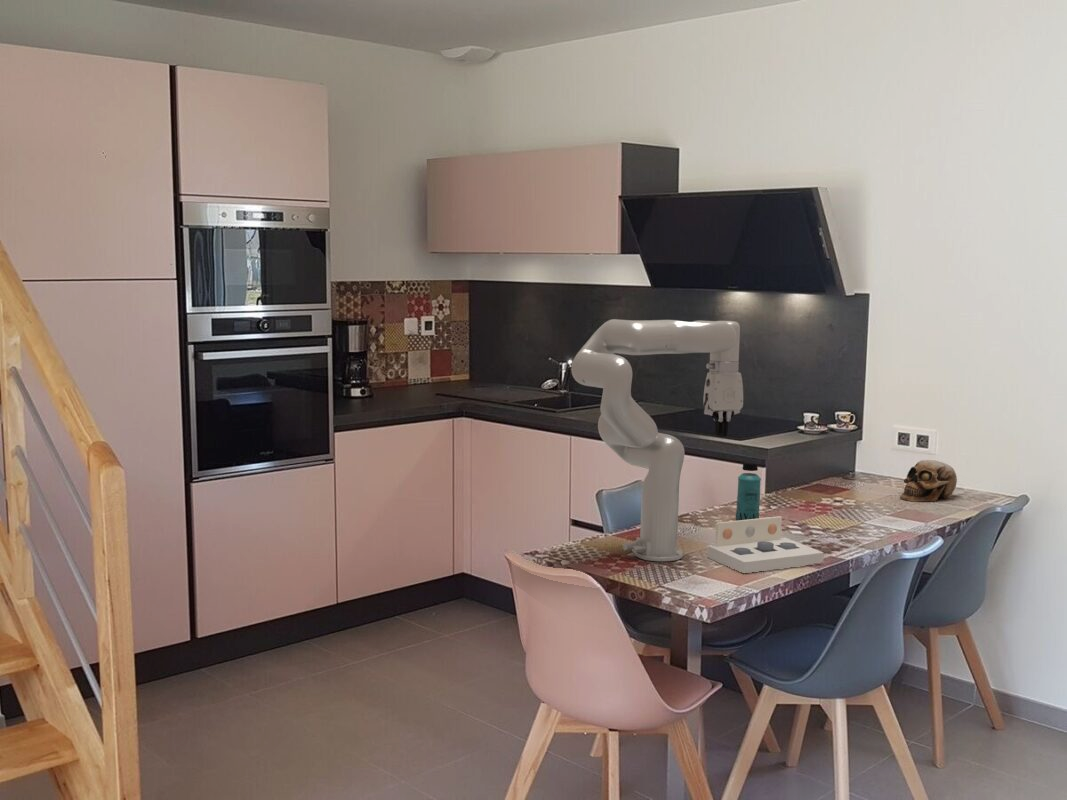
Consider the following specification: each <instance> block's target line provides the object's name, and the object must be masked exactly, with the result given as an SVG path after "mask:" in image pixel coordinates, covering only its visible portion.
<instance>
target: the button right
mask: <svg viewBox="0 0 1067 800" xmlns="http://www.w3.org/2000/svg"><path fill="white" fill-rule="evenodd" d="M780 548H783V549H785V550H788V549H796V544H793V543H787V542H784V543H780Z"/></svg>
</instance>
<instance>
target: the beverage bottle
mask: <svg viewBox="0 0 1067 800" xmlns="http://www.w3.org/2000/svg"><path fill="white" fill-rule="evenodd" d="M742 470H743V471H748V472H744V473H741V474H740V475H739V476H738V477H737V478H738V479H737V495H736V496H737V497H736V510H735V519H734V521H738V520H748V519H758V518H760V503H761V502H760V501H761V500H760V499H761V480H762V478H761V477H760V476H759V475H758V474H757V473H753V472H756V471H758V462H755V461H744V462H743V464H742Z"/></svg>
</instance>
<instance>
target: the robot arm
mask: <svg viewBox="0 0 1067 800" xmlns="http://www.w3.org/2000/svg"><path fill="white" fill-rule="evenodd" d="M740 332H741V326H740V323H739V322H737V321H735V320H734V321H733V320H716V321H715V320H693V321H684V320H678V319H652V320H651V319H650V320H645V319H644V320H643V319H642V320H635V319H634V320H629V319H617V318H616V319H615V318H613V319H608V320H607V321H605V322H604V323H603V324H602V325H601V326H599V328H597V329H596V331H594V333H593V334H592V335H591V336H590V338H589V339H588V340H587V341H586V342H585V344H583V346H582V347H581V348H580V350H579V351H578V352H577V353H576V355H575V356H574V358H573V359H572V364H571V369H570V370H571V375H572V377H573V379H574V380H575V382H576V383H578V384H580V385H582V386H586V387H592V388H593V387H594V388H597V389H598V388H600V389H603V390H602V395H601V401H600V409H599V410H600V416H599V417H598V423H597V428H598V429H597V430H598V433H599V436H600V438H601V440H602V442H604V443H605V444H606V445H607V447H609V448H610V449H611V450H612V451H613V452H614V453H615V454H616V455H617V456H619V458H620V459H621V460H623V461H624V462H626V463H627V464H629V465H632V466H635V467H638V468H645V469H647V470H648V472H647V474H646V476H645V478H644V479H643V481H642V485H641V492H640V494H641V499H640V500H641V503H640V505H641V506H640V531H639V533H640V535H639V536H636V540H634V541H633V542H624V543H622V548H623V550H624V551H633V555H634V556H635V558H639V559H640V560H645V561H648V562H649V561H650V562H674V561H678V560H680V559H682V558H683V557H684V551H683V550H682V549H681V548H678V530H679V528H678V527H679V503H680V501H679V500H680V498H679V497H680V496H679V495H680V482H681V481H680V480H681V474H682V473H681V472H682V469H683V465H684V460H685V447H684V445H683V443H682V441H680V439H678V438H677V437H676V436H673V435H670V434H667V433H661V432H658V431H659V430H658V426H657V424H656V422H655V421H654V419H653V418H652V416H650V415H649V414H648V412H646V411H645V410H644V409H643V408H642V407H641V406H640V405H639V404H638V403H637V402H636V400H634V398H633V397H632V392H631V391H632V382H633V381H632V380H633V369H632V366H631V363H630V362H629V360H627V359H626V358H625V357H623V356H621V355H629V356H647V355H648V356H649V355H664V354H665V355H667V354H670V355H673V354H675V355H676V354H678V355H679V354H680V355H682V354H699V353H701V354H703V353H704V354H705V353H709V363H706V365H705V367H706V369H708V370H709V372H707V374H706V378H705V381H704V382H705V383H704V388H703V389H704V390H703V399H702V400H703V408H704V409H703V410H704V411H703V414H704V415H708V416H710V417H712V419H713V421H714V422H715V426H714V427H715V428H714V433H715V434H714V435H715V436H717V437H719V438H720V437H721V438H723V437H728V432H729V422H730V421H731V418H733V416H735V415H738V414H740V413H741V410H742V409H743V407H744V385H743V377H742V374H741V372H739V364H740V362H739V357H740V338H741V337H740V335H741V333H740ZM619 354H620V355H619Z"/></svg>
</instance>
